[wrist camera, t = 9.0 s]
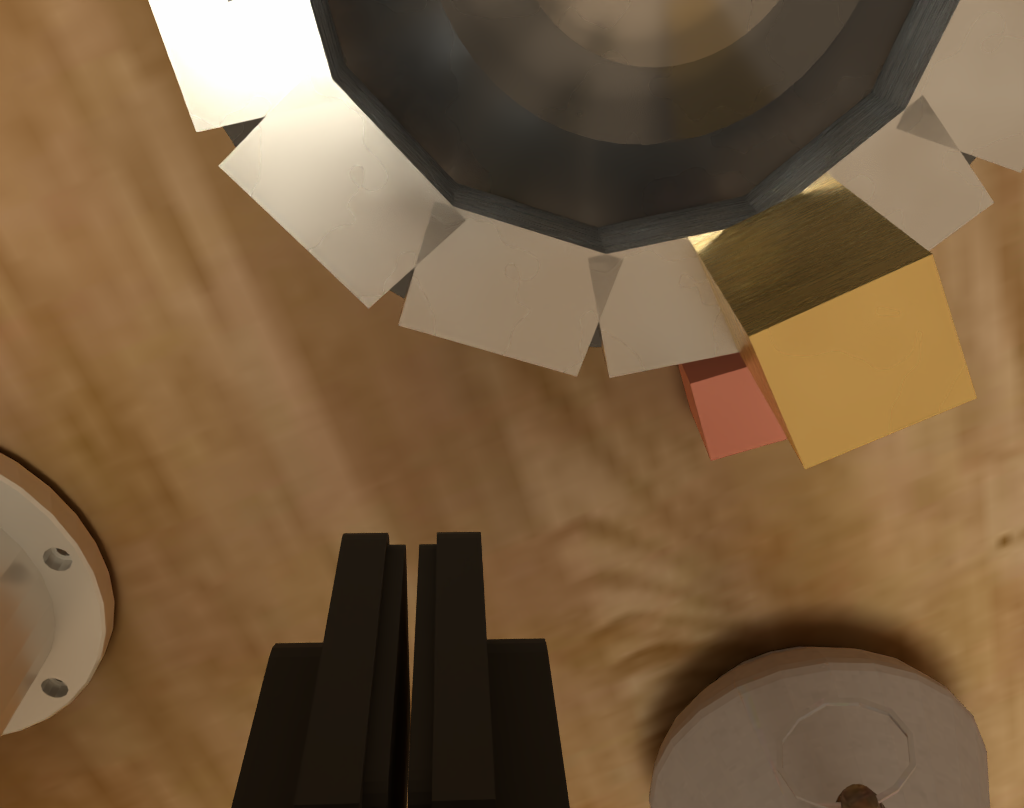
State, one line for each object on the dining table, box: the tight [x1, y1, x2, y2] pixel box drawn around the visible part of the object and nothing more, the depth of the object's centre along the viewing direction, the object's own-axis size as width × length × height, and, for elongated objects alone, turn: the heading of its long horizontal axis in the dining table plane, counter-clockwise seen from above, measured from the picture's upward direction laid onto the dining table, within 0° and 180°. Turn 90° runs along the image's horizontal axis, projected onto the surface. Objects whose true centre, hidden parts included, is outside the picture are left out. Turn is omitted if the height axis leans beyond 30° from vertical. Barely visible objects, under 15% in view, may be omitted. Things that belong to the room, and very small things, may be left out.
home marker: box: [678, 352, 788, 461], centre depth 26 cm, size 2×2×3 cm
